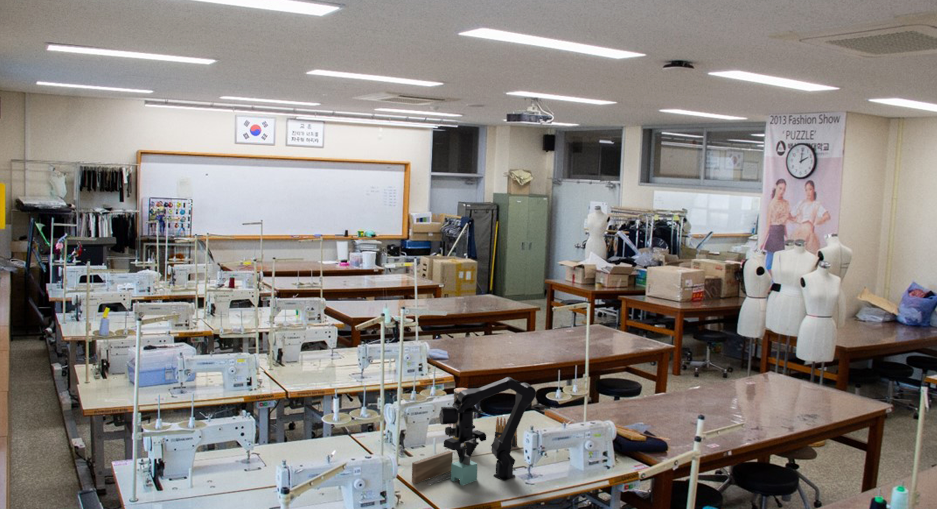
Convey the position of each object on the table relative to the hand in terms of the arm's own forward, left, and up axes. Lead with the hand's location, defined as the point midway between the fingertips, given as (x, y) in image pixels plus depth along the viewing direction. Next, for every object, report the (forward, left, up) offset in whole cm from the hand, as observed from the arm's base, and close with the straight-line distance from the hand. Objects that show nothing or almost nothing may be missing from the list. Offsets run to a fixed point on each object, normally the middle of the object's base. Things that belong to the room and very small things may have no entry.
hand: (464, 460), depth 315 cm
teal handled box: (0, 0, -8) cm, 8 cm away
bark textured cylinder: (+30, -27, -8) cm, 41 cm away
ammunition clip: (+17, -43, -8) cm, 47 cm away
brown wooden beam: (+9, +7, -8) cm, 14 cm away
